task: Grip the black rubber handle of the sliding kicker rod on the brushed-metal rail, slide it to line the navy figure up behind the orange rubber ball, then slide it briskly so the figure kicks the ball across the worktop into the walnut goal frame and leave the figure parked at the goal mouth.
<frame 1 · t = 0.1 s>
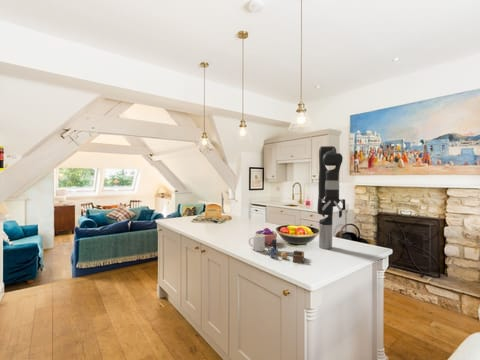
hand: (331, 217, 144), 29 cm above the countertop, fingers open, 8 cm apart
mug: (256, 249, 181), on the countertop
rail: (282, 254, 171), on the countertop
ball: (283, 255, 162), point 2 cm above the countertop
goal: (298, 259, 160), on the countertop
cell model: (266, 243, 199), on the countertop
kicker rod: (273, 247, 168), point 5 cm above the countertop, slide at -5.5 cm
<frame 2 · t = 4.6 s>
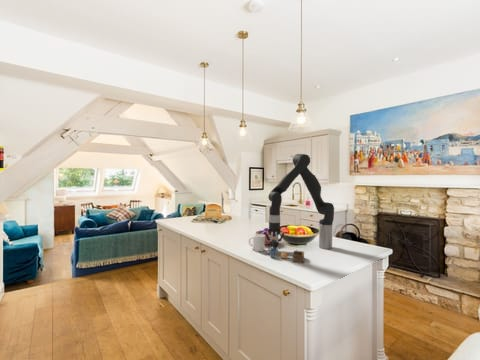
hand: (274, 246, 172), 5 cm above the countertop, fingers closed on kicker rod, 3 cm apart
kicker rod: (273, 247, 168), point 5 cm above the countertop, slide at -5.5 cm, touching gripper
everything else where it was.
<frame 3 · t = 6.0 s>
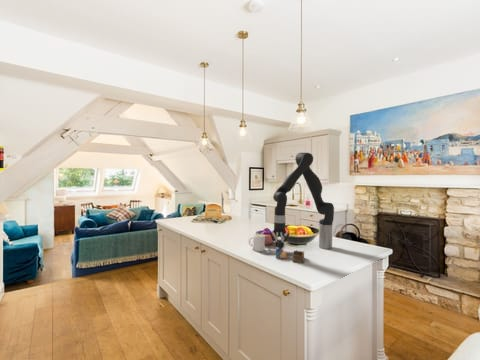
hand: (279, 247, 171), 5 cm above the countertop, fingers closed on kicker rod, 3 cm apart
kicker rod: (278, 248, 167), point 5 cm above the countertop, slide at -2.0 cm, touching gripper
everything else where it was.
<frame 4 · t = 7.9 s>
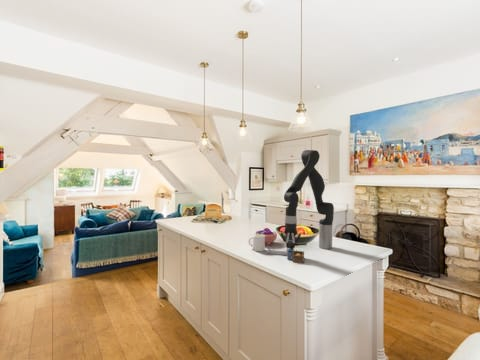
hand: (290, 248, 169), 5 cm above the countertop, fingers closed on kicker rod, 3 cm apart
ball: (298, 256, 160), point 2 cm above the countertop, tilted 101°
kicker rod: (290, 249, 166), point 5 cm above the countertop, slide at 5.2 cm, touching gripper
everything else where it was.
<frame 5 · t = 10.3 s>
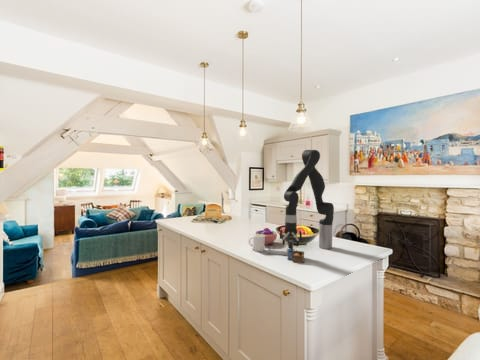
hand: (290, 245, 169), 6 cm above the countertop, fingers open, 8 cm apart
ball: (296, 256, 160), point 2 cm above the countertop, tilted 130°
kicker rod: (290, 249, 166), point 5 cm above the countertop, slide at 5.3 cm
everything else where it was.
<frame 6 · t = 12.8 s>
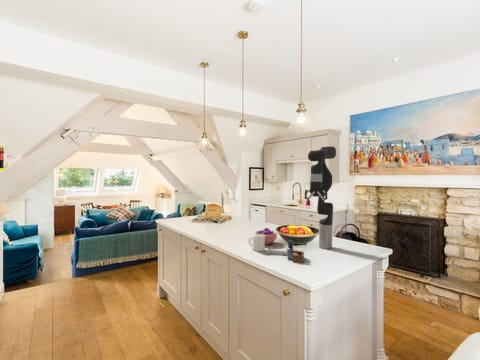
hand: (315, 205, 167), 33 cm above the countertop, fingers open, 8 cm apart
ball: (295, 256, 160), point 2 cm above the countertop, tilted 159°
everything else where it was.
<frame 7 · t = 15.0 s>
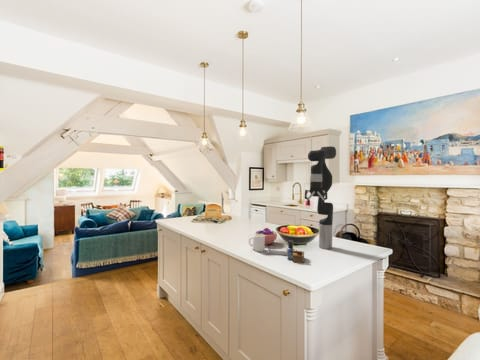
hand: (315, 205, 167), 33 cm above the countertop, fingers open, 8 cm apart
ball: (294, 256, 160), point 2 cm above the countertop, tilted 164°
everything else where it was.
at the end: ball inside the target area on the goal (1.5 cm from its centre), point 2.0 cm above the goal's base; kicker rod slide at 5.3 cm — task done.
